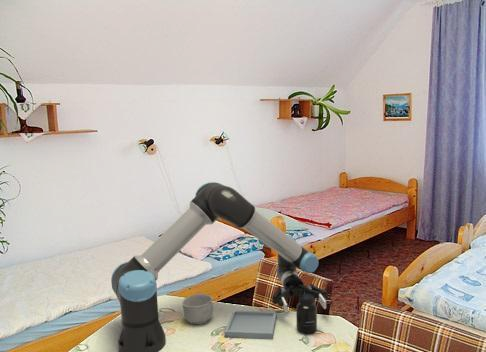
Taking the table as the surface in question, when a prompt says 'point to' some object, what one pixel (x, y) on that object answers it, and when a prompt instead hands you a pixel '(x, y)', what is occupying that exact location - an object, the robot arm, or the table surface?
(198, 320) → the teacup
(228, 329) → the tray
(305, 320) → the supplement bottle
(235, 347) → the table surface
